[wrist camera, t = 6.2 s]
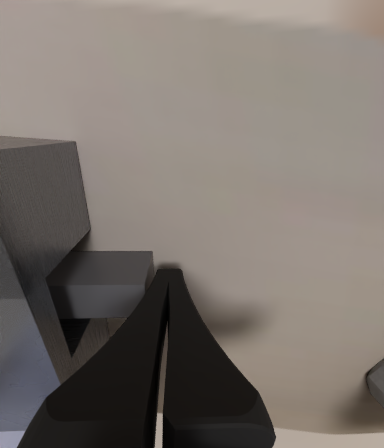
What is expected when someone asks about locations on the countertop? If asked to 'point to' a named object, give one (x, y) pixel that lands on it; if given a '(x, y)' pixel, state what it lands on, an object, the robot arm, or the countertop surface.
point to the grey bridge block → (38, 274)
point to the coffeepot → (377, 382)
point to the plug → (100, 283)
